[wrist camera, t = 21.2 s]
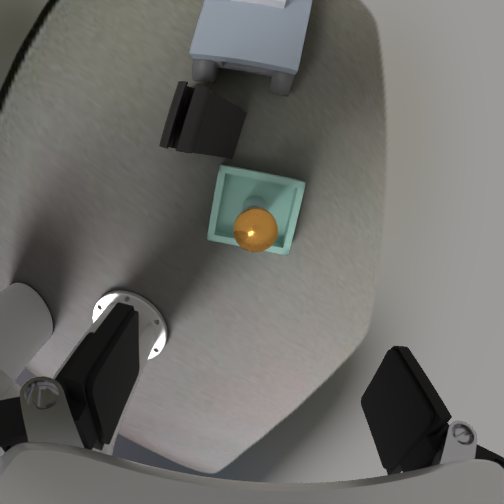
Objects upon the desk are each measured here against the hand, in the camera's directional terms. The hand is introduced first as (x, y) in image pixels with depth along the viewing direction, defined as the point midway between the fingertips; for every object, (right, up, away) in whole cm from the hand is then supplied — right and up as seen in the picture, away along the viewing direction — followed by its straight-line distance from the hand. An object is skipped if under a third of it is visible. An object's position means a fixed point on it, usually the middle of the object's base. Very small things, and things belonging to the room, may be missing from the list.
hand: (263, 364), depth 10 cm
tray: (0, +10, +27) cm, 28 cm away
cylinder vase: (-42, -7, +33) cm, 54 cm away
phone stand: (-6, +19, +23) cm, 31 cm away
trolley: (0, +30, +19) cm, 36 cm away
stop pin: (0, +9, +26) cm, 28 cm away
